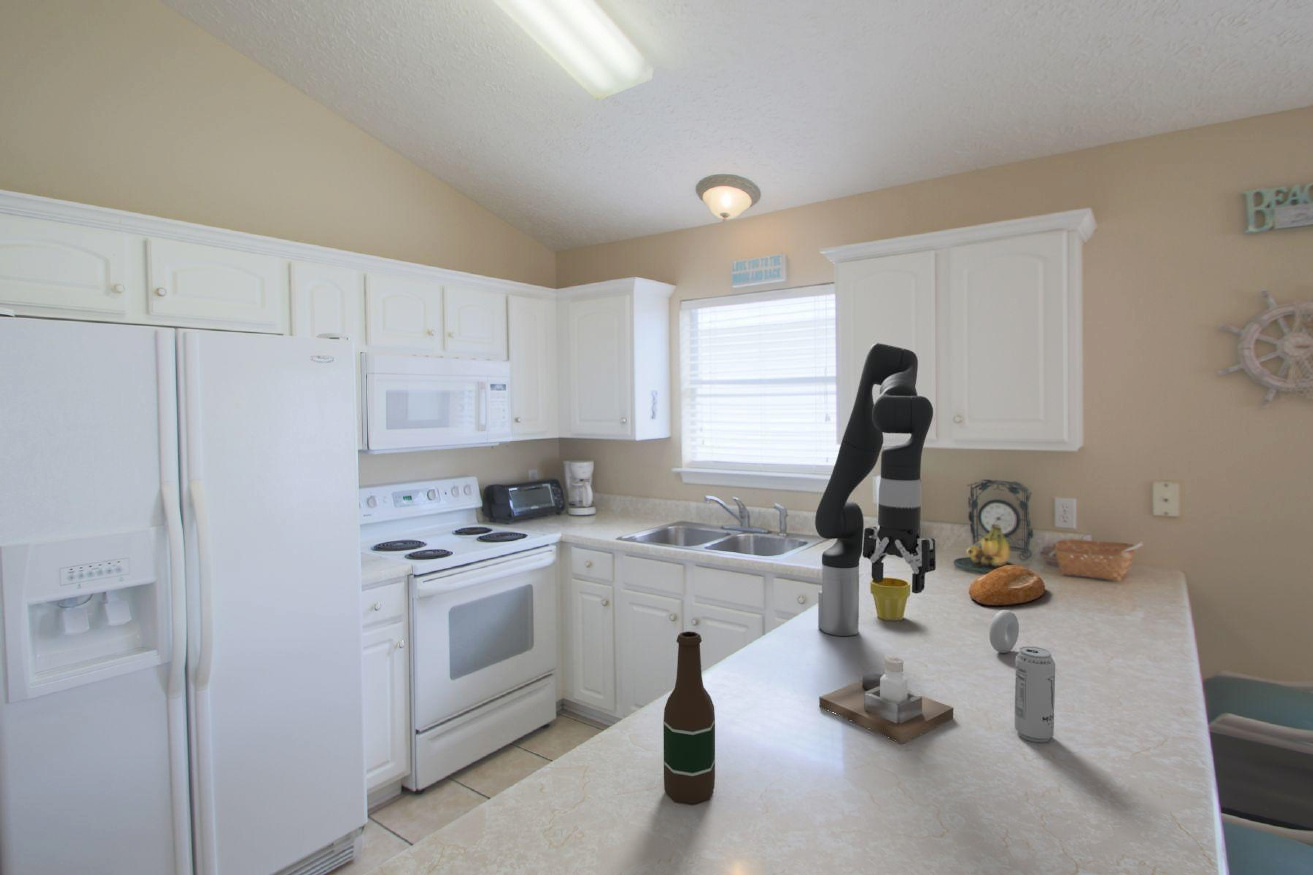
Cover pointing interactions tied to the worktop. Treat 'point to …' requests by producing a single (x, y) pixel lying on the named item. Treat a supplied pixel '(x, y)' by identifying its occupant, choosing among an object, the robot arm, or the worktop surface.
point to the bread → (1007, 586)
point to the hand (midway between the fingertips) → (896, 587)
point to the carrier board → (886, 709)
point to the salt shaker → (894, 681)
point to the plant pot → (890, 597)
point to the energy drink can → (1034, 694)
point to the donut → (1004, 631)
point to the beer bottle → (689, 729)
